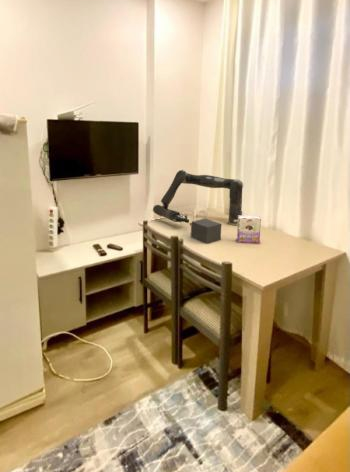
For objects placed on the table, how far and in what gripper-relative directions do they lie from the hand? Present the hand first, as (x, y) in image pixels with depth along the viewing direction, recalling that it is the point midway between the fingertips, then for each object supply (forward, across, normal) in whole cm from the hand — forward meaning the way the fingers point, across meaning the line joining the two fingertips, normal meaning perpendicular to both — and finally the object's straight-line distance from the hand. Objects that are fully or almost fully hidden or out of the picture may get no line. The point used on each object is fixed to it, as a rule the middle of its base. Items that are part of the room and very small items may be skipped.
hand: (188, 221), depth 223 cm
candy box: (+38, +18, +7) cm, 42 cm away
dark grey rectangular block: (+18, 0, +7) cm, 19 cm away
